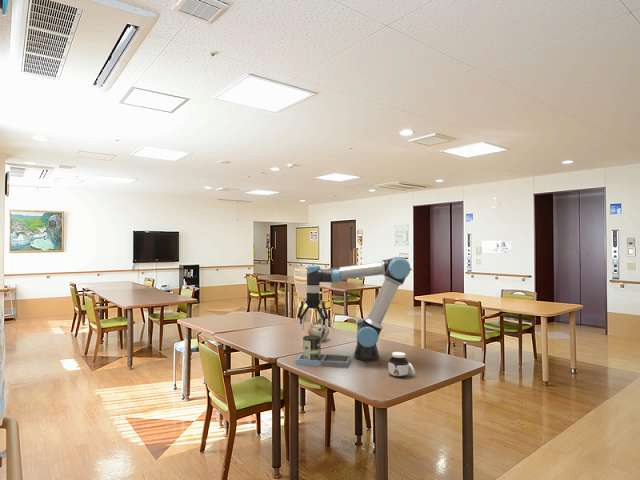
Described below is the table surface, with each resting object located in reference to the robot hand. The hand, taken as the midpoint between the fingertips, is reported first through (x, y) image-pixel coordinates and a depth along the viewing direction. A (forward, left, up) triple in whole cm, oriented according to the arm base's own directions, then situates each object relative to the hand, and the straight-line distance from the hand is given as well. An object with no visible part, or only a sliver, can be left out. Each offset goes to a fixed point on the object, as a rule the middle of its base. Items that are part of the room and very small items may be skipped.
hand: (312, 330), depth 240 cm
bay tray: (-7, 0, -18) cm, 19 cm away
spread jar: (-51, +14, -18) cm, 56 cm away
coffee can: (0, 0, -18) cm, 18 cm away
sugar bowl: (+7, -53, -18) cm, 57 cm away
